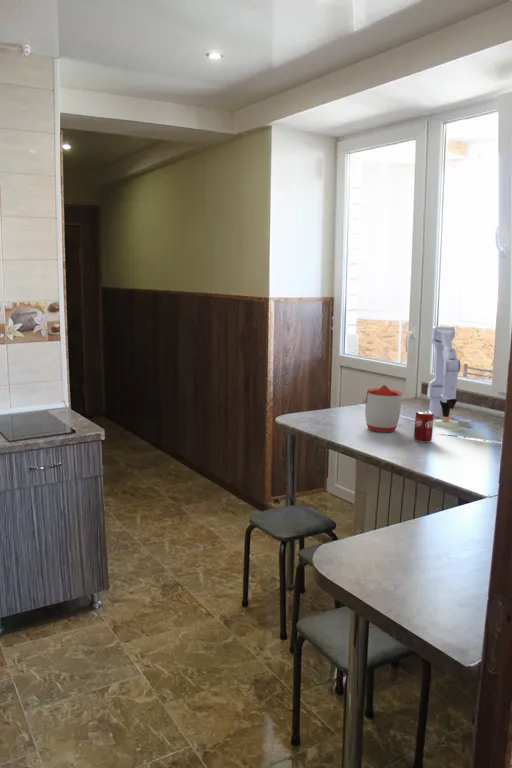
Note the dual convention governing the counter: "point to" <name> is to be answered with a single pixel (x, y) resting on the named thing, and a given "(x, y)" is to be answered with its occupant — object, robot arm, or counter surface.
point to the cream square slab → (446, 423)
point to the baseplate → (450, 428)
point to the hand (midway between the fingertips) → (447, 415)
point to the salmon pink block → (446, 417)
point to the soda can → (423, 426)
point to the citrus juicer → (382, 409)
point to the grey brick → (464, 423)
